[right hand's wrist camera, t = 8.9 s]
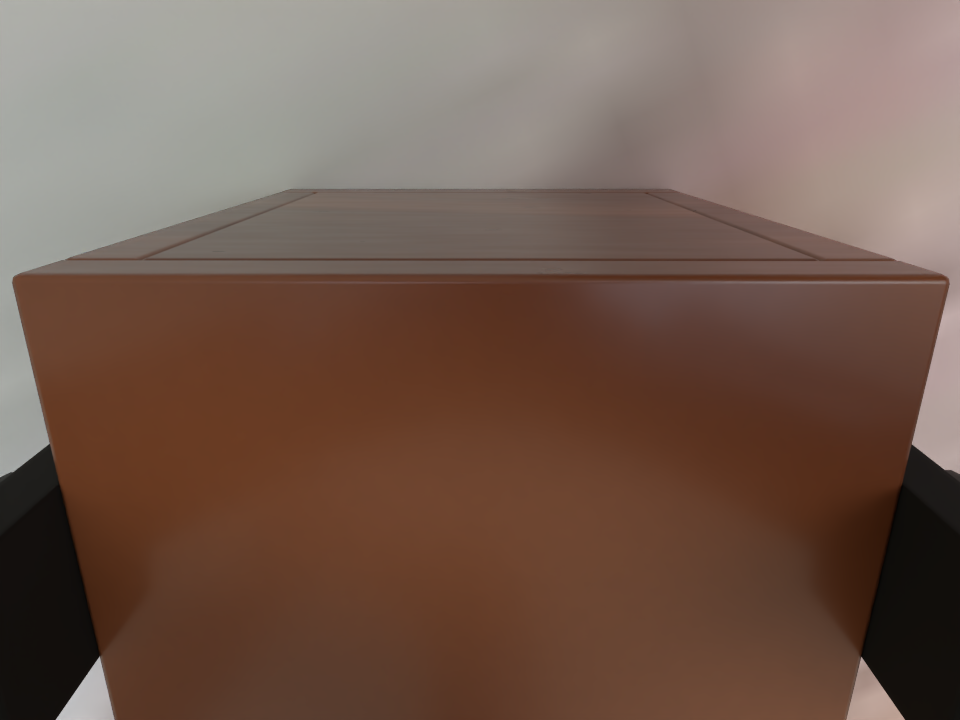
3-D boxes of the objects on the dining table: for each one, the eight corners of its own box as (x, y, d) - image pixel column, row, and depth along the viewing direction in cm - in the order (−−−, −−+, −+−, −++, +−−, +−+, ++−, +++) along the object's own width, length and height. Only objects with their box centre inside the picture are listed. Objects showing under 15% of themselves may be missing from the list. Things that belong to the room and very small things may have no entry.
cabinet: (622, 735, 25) (732, 1209, 14) (338, 735, 25) (226, 1207, 14) (673, 189, 18) (955, 276, 7) (288, 188, 18) (5, 274, 7)
